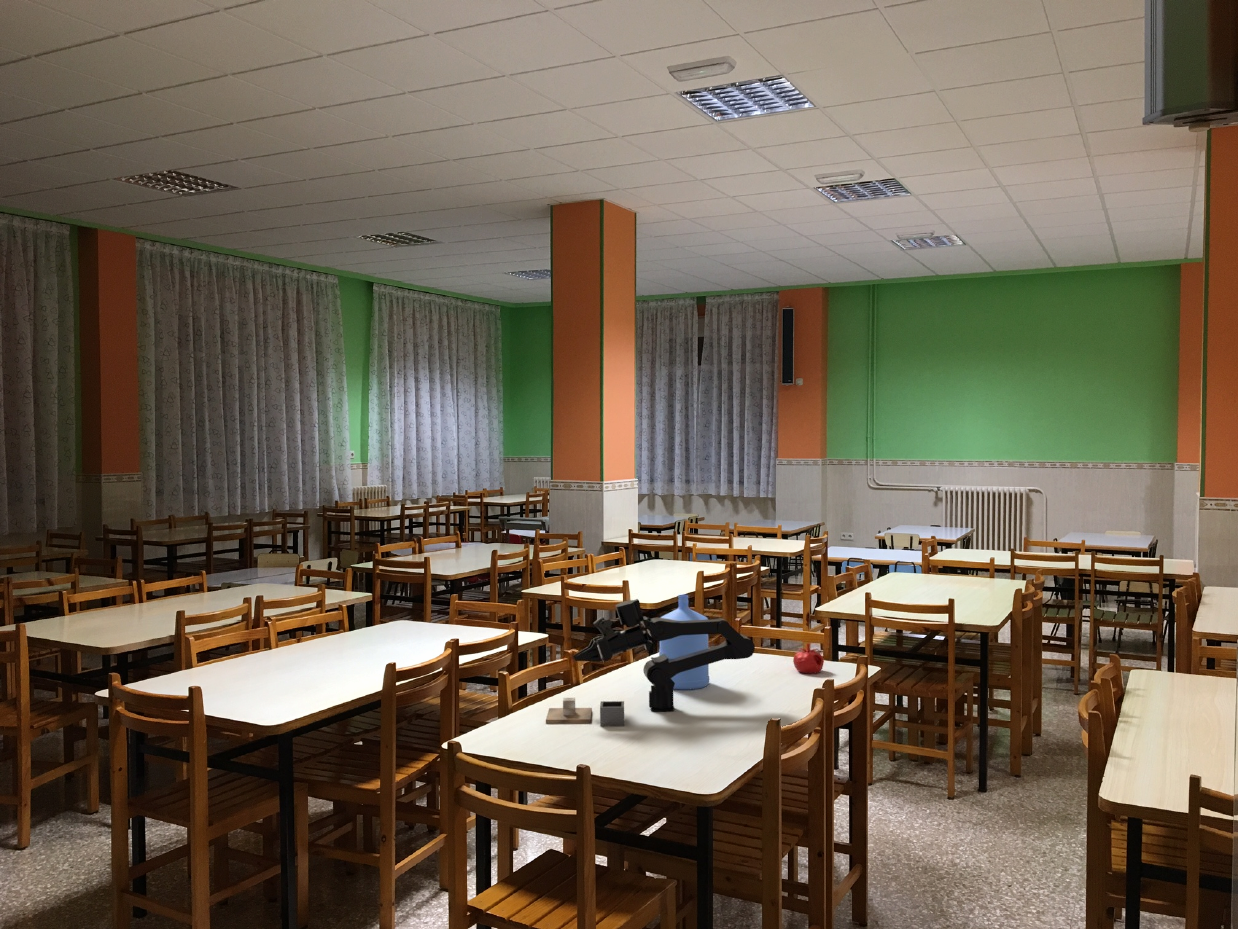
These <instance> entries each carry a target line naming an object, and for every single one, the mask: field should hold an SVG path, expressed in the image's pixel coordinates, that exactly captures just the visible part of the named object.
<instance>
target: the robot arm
mask: <svg viewBox="0 0 1238 929" xmlns="http://www.w3.org/2000/svg"><path fill="white" fill-rule="evenodd" d="M615 609H616V613H617V615H618V619H619V622H620V625H621V626H625V628H626V629H623V630H620V631H619V630H616V631H614V629H613V628H612V625H613V622H612V621H611V619H609V618H607V619H605V617H603V616H600V617H599V618H597V619H596V620H595V621H594V622H593V623H592V624H593V625H594V627H595V628H597V630H598V631H599V632H600V634H601V636H597V637H594V638H593V639H591V640H590V642H589V644H588V646H586V647H585V648H583V649H581V650H580V651H578V652H576V653H575V654H573V655H572V658H573V660H574V661H575V662H596V663H598V662H599V663H603V662H608V661H610V660H611V659H612V657H614V656H617V655H619V654H622V653H626V652H628V651H630V650H632V649H633V650H634V649H636V648H639V647H642V646H644V649H645V650H646V651H647V652H650V650H651V647H652V646H653V644H654V643H653V641H652V640H649V636H650V637H651V638H652V639H653V640H655V641H659V642H660V641H663V640H668V639H672V638H675V637H677V636H681V635H700V634H708V635H715V634H716V635H721V636H722V637H723V638H724V639H725V640H724V641H723V642H721V643H719V644H718V645H715V646H710V647H708V649H704V650H701V651H697V652H694V653H691V654H687V655H684V656H681V657H677V658H674V659H668V657H667V656H666V655H665V654H663V655H660V656H659V655H658V656H655V657H650V660H648V661H646V662H645V663H644V665H643V674H644V677H646V679H647V680H648V681H649V682H650V683H651V684H652V685H650V690H649V691H648V706H649V708H650V711H651V712H674V711H675V707H674V689H673V688H674V685H675V682H674V681H673V680H672V679H671V678H672V677H674V676H675V675H677V674H678V673H680V672H684V671H687V670H691V669H694V668H697V667H701V666H704V665H707V664H708V665H711V664H713V663H718V662H721V661H724V660H741V659H748V658H751V657H752V656H753V654H754V653H755V649H756V648H755V647H756V646H755V643H754V641H753V640H752V639H750V638H749V637H747V636H746V635H744V634H741V633H739V632H738V631H737V630H736V629H735V628H734V627H732V626H731V625H730V623H729V621H727V620H726V619H724V618H720V617H719V618H714V619H708V620H689V621H676V620H671V619H665V618H661V617H652V618H650V617H647V616H644V615H643V612H642V608H641V603H640V600H639V598H636V599H631V600H625V601H621V602H619V603H617V604H615ZM641 624H642V625H641ZM642 626H644V628H645V629H646V630H643V628H642ZM648 635H649V636H648Z"/></svg>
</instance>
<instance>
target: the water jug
mask: <svg viewBox="0 0 1238 929" xmlns="http://www.w3.org/2000/svg"><path fill="white" fill-rule="evenodd" d="M677 596H678V603H677V604H678V607H677V608H676V609H674V610H672V611H671V612H668V613H666V614H664V615H662V616H660V618H665V619H671V620H676V621H689V620H709V618H708V617H707V616H705V615H703V614H701V613H699V612H697V611H695V610H693V609H691V608H690V607H689V595H688V594H678V595H677ZM708 648H709V634H700V635H681V636H677V637H675V638H672V639H668V640H663V641H659V649H658V650H659V651H658V656H660V655H663V654H665V655H666V656H667V657H668V659H674V658H677V657H681V656H684V655H687V654H691V653H694V652H697V651H701V650H704V649H708ZM709 665H710V664H707V665H704V666H701V667H697V668H694V669H691V670H687V671H684V672H680V673H678V674H677V675H675V676H674V677H672V678H671V679H672V680H673V681H674V682H675V685H674V688H673V690H686V691H687V690H690V691H691V690H698V689H702V688H705V687H707V686H708V685H710V684H709V683H710V676H709V675H710V673H709V671H710V670H709V669H710V668H709Z"/></svg>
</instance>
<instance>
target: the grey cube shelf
mask: <svg viewBox="0 0 1238 929" xmlns="http://www.w3.org/2000/svg"><path fill="white" fill-rule="evenodd" d="M599 721H600V724H599V727H625V701H624V700H617V701H613V700H612V701H603V700H602V701H600V705H599Z"/></svg>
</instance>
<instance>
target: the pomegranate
mask: <svg viewBox="0 0 1238 929" xmlns="http://www.w3.org/2000/svg"><path fill="white" fill-rule="evenodd" d="M806 646H807V647H806V648H802V647H799V648H798V647H797V649H798V652H796V653H795V654H794V656H793V661H792V663H793V665H794V667H795V669H796V670H797V671H798V672H799V673H802V674H818V673H820V672H821V671H823V667H824V663H825V660H824V656H823V655H822V654H821V653H820V652H818V651H819V649H818V648H813V649H811V648H810V647H811V644H810V643H806ZM801 650H802V651H801Z"/></svg>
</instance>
